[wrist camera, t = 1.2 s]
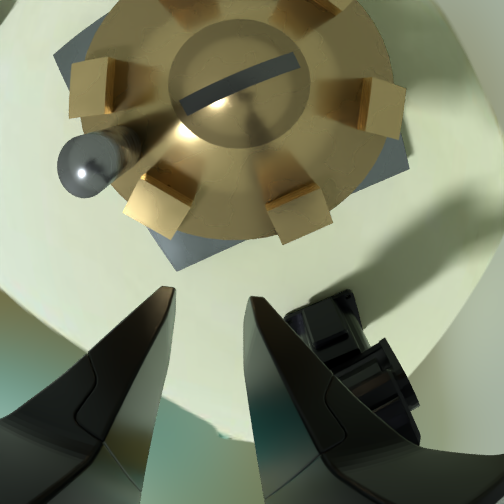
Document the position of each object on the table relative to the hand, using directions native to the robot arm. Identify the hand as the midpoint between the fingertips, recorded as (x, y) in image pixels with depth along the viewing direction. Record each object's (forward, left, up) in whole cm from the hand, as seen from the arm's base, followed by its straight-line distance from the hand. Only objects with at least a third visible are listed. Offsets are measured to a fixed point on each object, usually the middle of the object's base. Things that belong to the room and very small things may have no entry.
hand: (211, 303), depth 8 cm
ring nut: (+5, -4, -10) cm, 12 cm away
